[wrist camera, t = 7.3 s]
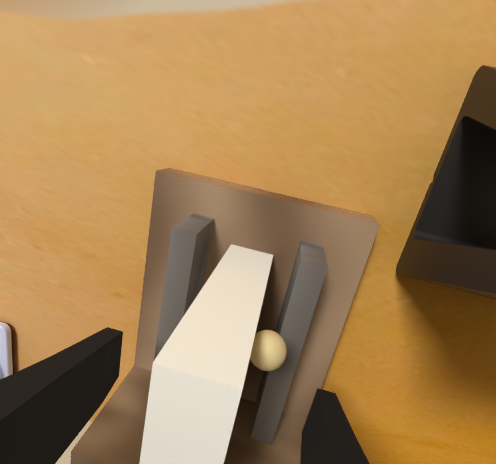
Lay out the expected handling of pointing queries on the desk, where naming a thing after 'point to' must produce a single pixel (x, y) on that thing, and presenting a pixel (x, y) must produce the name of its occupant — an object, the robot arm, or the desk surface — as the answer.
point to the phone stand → (461, 202)
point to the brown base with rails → (271, 315)
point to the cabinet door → (210, 364)
